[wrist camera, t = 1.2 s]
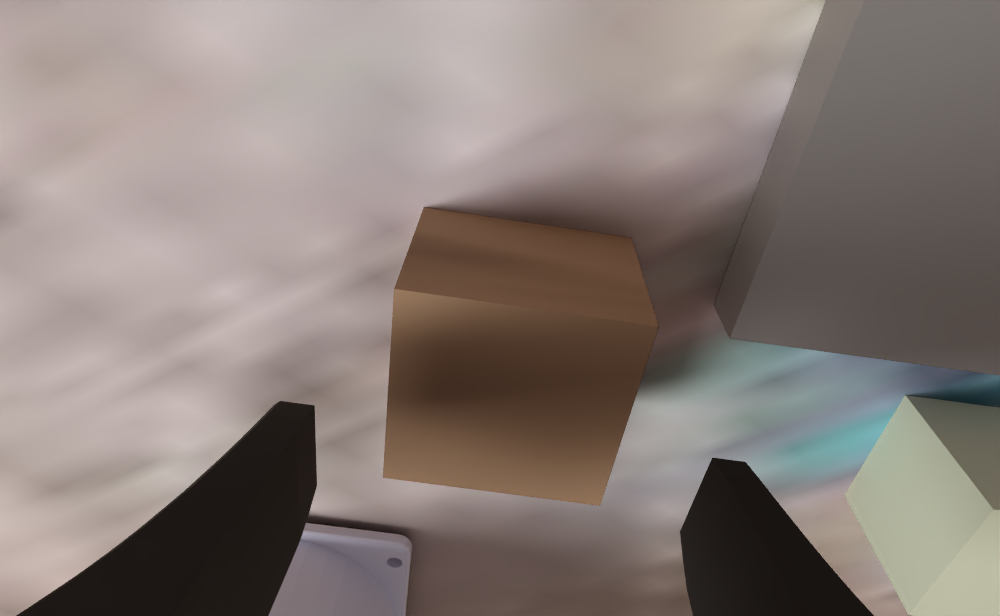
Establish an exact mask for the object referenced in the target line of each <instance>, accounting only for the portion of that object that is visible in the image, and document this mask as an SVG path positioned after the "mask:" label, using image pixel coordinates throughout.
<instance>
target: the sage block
mask: <svg viewBox="0 0 1000 616" xmlns="http://www.w3.org/2000/svg"><path fill="white" fill-rule="evenodd" d="M845 497H846V499H847V501H848V503H849V505H850V507H851V509H852V510H853V512H854V514H855V516H856V518H857V520H858V522H859V523H860V525H861V527H862V529H863V531H864V533H865V535H866V537H867V538H868V540H869V542H870V544H871V546H872V548H873V550H874V552H875V553H876V555H877V557H878V559H879V561H880V563H881V565H882V567H883V568H884V570H885V572H886V574H887V576H888V578H889V580H890V582H891V583H892V585H893V587H894V589H895V591H896V593H897V595H898V596H899V598H900V600H901V602H902V604H903V606H904V608H905V610H906V611H907V613H908V615H912V616H1000V408H998V407H991V406H983V405H976V404H968V403H960V402H953V401H945V400H938V399H930V398H923V397H915V396H908V395H905V397H904V398H903V400H902V402H901V403H900V405H899V406H898V408H897V410H896V411H895V413H894V415H893V416H892V418H891V420H890V421H889V423H888V425H887V426H886V428H885V429H884V431H883V433H882V434H881V436H880V438H879V439H878V441H877V443H876V444H875V446H874V448H873V449H872V451H871V452H870V454H869V456H868V457H867V459H866V461H865V462H864V464H863V466H862V467H861V469H860V471H859V472H858V474H857V475H856V477H855V479H854V480H853V482H852V484H851V485H850V487H849V489H848V490H847V492H846V494H845Z"/></svg>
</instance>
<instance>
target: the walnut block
mask: <svg viewBox="0 0 1000 616" xmlns="http://www.w3.org/2000/svg"><path fill="white" fill-rule="evenodd" d="M658 327H659V325H658V322H657V319H656V316H655V312H654V309H653V306H652V303H651V300H650V296H649V293H648V290H647V287H646V284H645V280H644V277H643V274H642V271H641V267H640V264H639V261H638V258H637V255H636V251H635V248H634V245H633V242H632V238H631V237H624V236H617V235H610V234H603V233H596V232H590V231H583V230H576V229H569V228H562V227H556V226H549V225H542V224H535V223H528V222H521V221H515V220H508V219H501V218H494V217H487V216H481V215H474V214H467V213H460V212H453V211H446V210H440V209H433V208H426V207H424V209H423V211H422V214H421V217H420V220H419V222H418V225H417V228H416V231H415V233H414V236H413V239H412V242H411V244H410V247H409V250H408V253H407V255H406V258H405V261H404V263H403V266H402V269H401V272H400V274H399V277H398V280H397V283H396V285H395V288H394V301H393V318H392V335H391V351H390V368H389V385H388V402H387V418H386V435H385V452H384V469H383V478H391V479H398V480H406V481H414V482H421V483H429V484H437V485H445V486H452V487H460V488H468V489H475V490H483V491H491V492H499V493H506V494H514V495H522V496H529V497H537V498H545V499H553V500H560V501H568V502H576V503H584V504H591V505H599V506H600V504H601V501H602V498H603V495H604V492H605V489H606V486H607V483H608V480H609V477H610V474H611V471H612V467H613V464H614V461H615V458H616V455H617V452H618V449H619V446H620V443H621V440H622V437H623V434H624V431H625V428H626V425H627V422H628V419H629V416H630V413H631V409H632V406H633V403H634V400H635V397H636V394H637V391H638V388H639V385H640V382H641V379H642V376H643V373H644V370H645V367H646V364H647V361H648V358H649V355H650V351H651V348H652V345H653V342H654V339H655V336H656V333H657V330H658Z"/></svg>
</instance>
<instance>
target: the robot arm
mask: <svg viewBox="0 0 1000 616" xmlns="http://www.w3.org/2000/svg"><path fill="white" fill-rule="evenodd" d="M316 487H317V475H316V442H315V408H314V405H306V404H299V403H291V402H283V401H280V402H278V403H277V404H275V405H274V406H273V407H272V408H271V409H270V410H269V411H268V412H267V413H266V414H265V415H264V416H263V417H262V418H261V419H260V420H259V421H258V422H257V423H256V424H255V425H254V426H253V427H252V428H251V429H250V430H249V431H248V432H247V433H246V434H245V435H244V436H243V437H242V438H241V439H240V440H239V441H238V442H237V443H236V444H235V445H234V446H233V447H232V448H231V449H230V450H229V451H228V452H226V453H225V454H224V455H223V456H222V457H221V458H220V459H219V460H218V461H217V462H216V463H215V464H214V465H212V466H211V467H210V468H209V469H208V470H207V471H206V472H205V473H204V474H203V475H202V476H200V477H199V478H198V479H197V480H196V481H195V482H194V483H193V484H192V485H191V486H189V487H188V488H187V489H186V490H185V491H184V492H183V493H181V494H180V495H179V496H178V497H177V498H176V499H174V500H173V501H172V502H171V503H170V504H168V505H167V506H166V507H165V508H164V509H162V510H161V511H160V512H159V513H158V514H156V515H155V516H154V517H153V518H152V519H150V520H149V521H148V522H147V523H146V524H144V525H143V526H142V527H141V528H139V529H138V530H137V531H136V532H134V533H133V534H132V535H130V536H129V537H128V538H127V539H125V540H124V541H123V542H121V543H120V544H119V545H118V546H116V547H115V548H114V549H112V550H111V551H110V552H108V553H107V554H106V555H104V556H103V557H101V558H100V559H99V560H97V561H96V562H95V563H93V564H92V565H90V566H89V567H88V568H86V569H85V570H84V571H82V572H81V573H79V574H78V575H76V576H75V577H74V578H72V579H71V580H69V581H68V582H66V583H65V584H63V585H62V586H60V587H59V588H57V589H56V590H54V591H53V592H51V593H50V594H48V595H47V596H45V597H44V598H42V599H41V600H39V601H38V602H36V603H35V604H33V605H32V606H30V607H29V608H27V609H26V610H24V611H23V612H21V613H20V614H18V615H17V616H406V606H407V595H408V584H409V573H410V563H411V552H412V543H411V541H410V540H409V539H408V538H407V537H405V536H403V535H399V534H393V533H384V532H376V531H368V530H360V529H352V528H344V527H336V526H328V525H319V524H311V523H306V521H307V518H308V514H309V511H310V507H311V504H312V500H313V497H314V493H315V490H316ZM680 535H681V544H682V554H683V563H684V571H685V578H686V586H687V591H688V595H689V599H690V604H691V608H692V612H693V616H874V615H873V614H872V613H871V612H870V611H869V610H868V609H867V608H866V607H865V605H864V604H863V603H862V602H861V601H860V600H859V599H858V598H857V597H856V596H855V595H854V593H853V592H852V591H851V590H850V589H849V588H848V587H847V585H846V584H845V583H844V582H843V581H842V580H841V579H840V577H839V576H838V575H837V574H836V573H835V572H834V571H833V569H832V568H831V567H830V566H829V565H828V563H827V562H826V561H825V560H824V559H823V558H822V556H821V555H820V554H819V553H818V552H817V550H816V549H815V548H814V547H813V545H812V544H811V543H810V542H809V541H808V539H807V538H806V537H805V536H804V534H803V533H802V532H801V531H800V530H799V528H798V527H797V526H796V525H795V523H794V522H793V521H792V520H791V518H790V517H789V516H788V515H787V513H786V512H785V511H784V510H783V508H782V507H781V506H780V505H779V503H778V502H777V501H776V499H775V498H774V497H773V496H772V494H771V493H770V492H769V491H768V489H767V488H766V487H765V486H764V484H763V483H762V482H761V481H760V479H759V478H758V477H757V476H756V474H755V473H754V472H753V471H752V469H751V468H750V467H749V466H748V465H747V463H746V462H741V461H733V460H726V459H718V458H712V460H711V462H710V464H709V467H708V469H707V471H706V474H705V476H704V478H703V480H702V483H701V485H700V487H699V490H698V492H697V494H696V496H695V499H694V501H693V503H692V506H691V508H690V510H689V512H688V515H687V517H686V519H685V522H684V524H683V526H682V529H681V531H680Z"/></svg>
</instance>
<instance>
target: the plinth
mask: <svg viewBox="0 0 1000 616" xmlns="http://www.w3.org/2000/svg"><path fill="white" fill-rule="evenodd" d="M714 306H715V308H716V310H717V312H718V315H719V317H720V319H721V321H722V323H723V325H724V327H725V330H726V332H727V334H728V336H729V338H730V339H737V340H744V341H752V342H759V343H766V344H774V345H781V346H788V347H796V348H803V349H811V350H818V351H825V352H833V353H840V354H847V355H855V356H862V357H869V358H877V359H884V360H891V361H899V362H906V363H913V364H921V365H928V366H935V367H943V368H950V369H957V370H965V371H972V372H979V373H987V374H994V375H1000V0H826V2H825V5H824V7H823V10H822V13H821V15H820V18H819V21H818V24H817V26H816V29H815V32H814V35H813V37H812V40H811V43H810V45H809V48H808V51H807V54H806V56H805V59H804V62H803V64H802V67H801V70H800V73H799V75H798V78H797V81H796V83H795V86H794V89H793V92H792V94H791V97H790V100H789V102H788V105H787V108H786V111H785V113H784V116H783V119H782V121H781V124H780V127H779V130H778V132H777V135H776V138H775V140H774V143H773V146H772V149H771V151H770V154H769V157H768V159H767V162H766V165H765V168H764V170H763V173H762V176H761V178H760V181H759V184H758V187H757V189H756V192H755V195H754V197H753V200H752V203H751V206H750V208H749V211H748V214H747V216H746V219H745V222H744V225H743V227H742V230H741V233H740V235H739V238H738V241H737V244H736V246H735V249H734V252H733V254H732V257H731V260H730V263H729V265H728V268H727V271H726V273H725V276H724V279H723V282H722V284H721V287H720V290H719V292H718V295H717V298H716V301H715V303H714Z"/></svg>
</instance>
